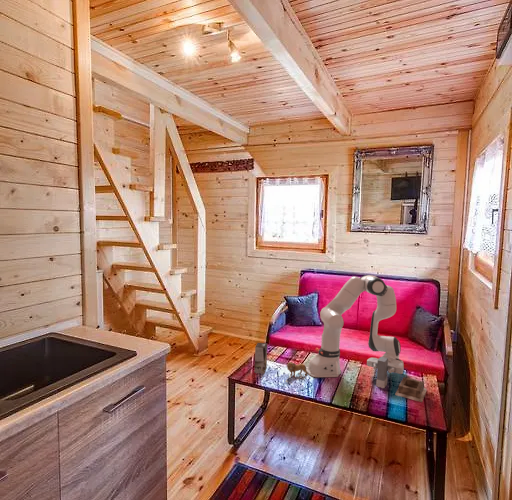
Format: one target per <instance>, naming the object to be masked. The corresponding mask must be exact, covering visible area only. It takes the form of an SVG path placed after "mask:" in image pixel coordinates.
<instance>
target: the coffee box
mask: <svg viewBox="0 0 512 500" xmlns="http://www.w3.org/2000/svg"><path fill="white" fill-rule="evenodd" d="M267 366H268V343H267V342H257V343H256V344H255V348H254V373H255V374H265V373H266V370H267V368H268V367H267Z"/></svg>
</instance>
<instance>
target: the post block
mask: <svg viewBox="0 0 512 500" xmlns="http://www.w3.org/2000/svg"><path fill="white" fill-rule="evenodd" d="M424 385H425V382H424V381H422V380H417V379H414V378H410V377H405V376H403V377H402V380H401V381H400V382H399V384H398V388H397V390H396V392H395V394H394V395H395V396H398V397H401V398H406V399H409V400H413V401H416V402H419V403H423V402H424V401H423V400H424V398H425V396H426V393H427V390H428V389H427V388H425V386H424Z"/></svg>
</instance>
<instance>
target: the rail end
mask: <svg viewBox="0 0 512 500" xmlns="http://www.w3.org/2000/svg"><path fill="white" fill-rule="evenodd" d="M387 369H388V358H385V357H382V356H380V357H378V364H377V369H376V370H377V371H376V380H375V381H376V383H375V384H376V385H375V386H376V387H378V388H382V389H386V386H387V385H388V371H387Z"/></svg>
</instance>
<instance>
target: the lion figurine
mask: <svg viewBox="0 0 512 500" xmlns="http://www.w3.org/2000/svg"><path fill="white" fill-rule="evenodd" d="M306 367H307V366H306V365H305V364H304V363H299V364H295V363H294V362H291V361H289V362H288V363H287V364H286V368H287V371H289V372H290V375H289V376H290V377H291V376H292V377H293V378H295V377H296V372H298V371H300V372H298V374H299V375H301V374H302V373H303V372H304V373H305V374H304V376H308V373H307V371H306Z"/></svg>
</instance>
